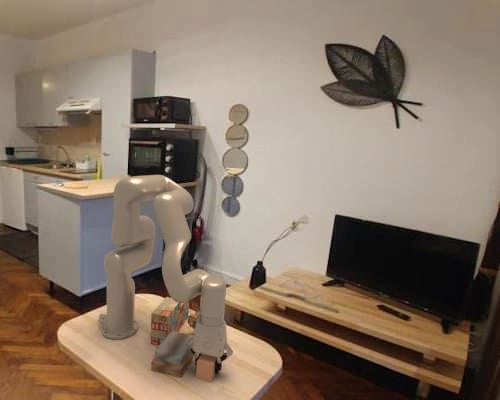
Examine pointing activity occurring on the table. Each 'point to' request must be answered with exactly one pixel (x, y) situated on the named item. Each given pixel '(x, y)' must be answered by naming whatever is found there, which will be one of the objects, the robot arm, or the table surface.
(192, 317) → the lion figurine
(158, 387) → the table surface
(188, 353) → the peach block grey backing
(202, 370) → the terracotta brick
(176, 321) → the stack of blocks
